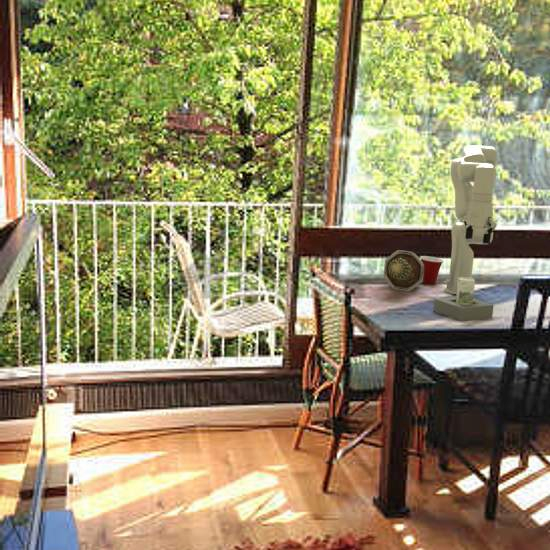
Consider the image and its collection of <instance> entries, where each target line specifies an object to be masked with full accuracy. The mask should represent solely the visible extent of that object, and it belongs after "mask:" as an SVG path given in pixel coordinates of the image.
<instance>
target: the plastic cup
mask: <svg viewBox="0 0 550 550" xmlns="http://www.w3.org/2000/svg"><path fill="white" fill-rule="evenodd" d="M419 259H420V260H421V261H422V262H423V264H424V274H423V281H422V283H423V284H425V285H433V286H434V285H436V283H437V279H438V276H439V273H440V269H441V266H442V264H443V262H444V259H442V258H439V257H435V256H427V255H420V257H419Z"/></svg>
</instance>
